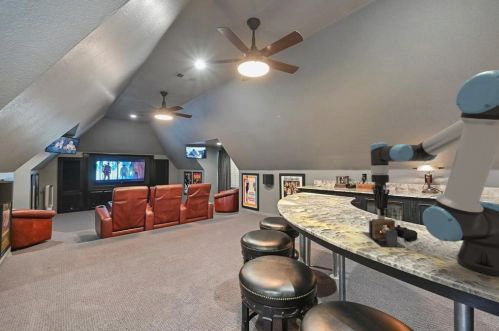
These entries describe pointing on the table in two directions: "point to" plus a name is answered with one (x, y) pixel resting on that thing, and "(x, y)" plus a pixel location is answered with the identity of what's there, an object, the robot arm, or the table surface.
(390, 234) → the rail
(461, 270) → the table surface
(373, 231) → the collar
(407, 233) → the gaming controller
